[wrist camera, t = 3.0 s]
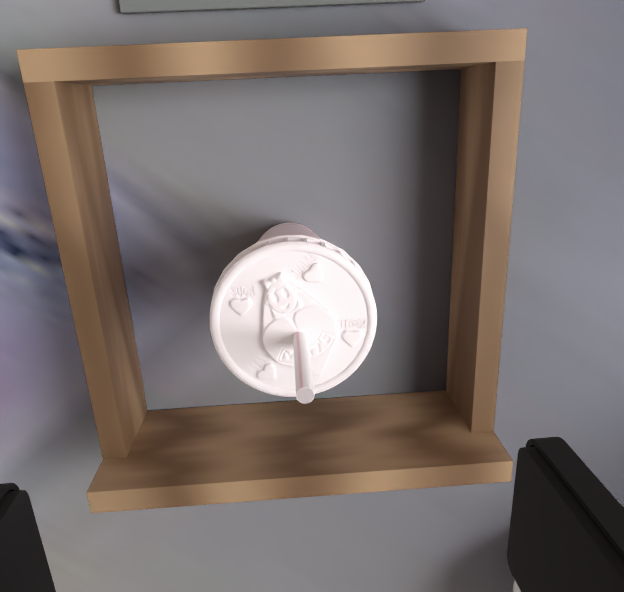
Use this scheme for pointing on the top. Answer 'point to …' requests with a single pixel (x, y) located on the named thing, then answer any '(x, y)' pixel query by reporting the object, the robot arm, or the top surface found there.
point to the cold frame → (293, 414)
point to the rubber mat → (233, 4)
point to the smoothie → (293, 314)
